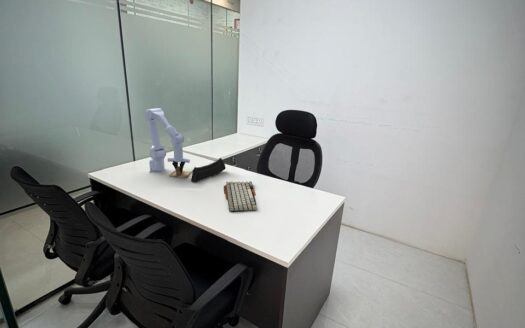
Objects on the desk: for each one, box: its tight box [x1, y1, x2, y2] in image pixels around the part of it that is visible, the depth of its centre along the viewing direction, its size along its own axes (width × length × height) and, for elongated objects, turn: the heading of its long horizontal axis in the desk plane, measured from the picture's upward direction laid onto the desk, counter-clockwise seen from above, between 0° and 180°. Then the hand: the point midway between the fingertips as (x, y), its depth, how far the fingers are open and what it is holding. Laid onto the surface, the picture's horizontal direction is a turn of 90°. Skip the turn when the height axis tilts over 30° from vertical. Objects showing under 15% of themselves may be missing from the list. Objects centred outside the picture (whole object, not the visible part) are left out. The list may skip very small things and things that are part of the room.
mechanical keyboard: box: [223, 180, 258, 213], centre depth 154 cm, size 38×19×3 cm, turn 11°
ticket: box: [173, 166, 194, 174], centre depth 188 cm, size 12×9×1 cm
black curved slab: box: [190, 157, 227, 183], centre depth 179 cm, size 17×3×30 cm
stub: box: [168, 165, 192, 179], centre depth 179 cm, size 12×8×6 cm, turn 87°
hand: (179, 172), depth 178 cm, fingers closed on stub, 2 cm apart
